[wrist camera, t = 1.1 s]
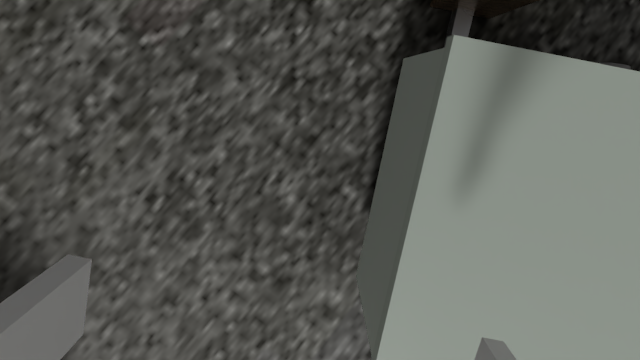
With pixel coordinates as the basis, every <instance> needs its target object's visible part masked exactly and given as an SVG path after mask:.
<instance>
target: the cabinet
mask: <svg viewBox="0 0 640 360" xmlns="http://www.w3.org/2000/svg"><path fill="white" fill-rule="evenodd" d="M630 68H631V66H628V65H624V64H618V63H607V62H603V63H601V64H599V63H594V62H589V61H584V60H579V59H574V58H569V57H564V56H559V55H554V54H548V53H543V52H538V51H533V50H528V49H523V48H518V47H513V46H508V45H503V44H498V43H493V42H488V41H483V40H478V39H473V38H468V37H463V36H458V35H452V36H449V37H447V40H446V44H445V48H441V49H438V50H434V51H430V52H426V53H422V54H419V55H415V56H411V57H407V58H404V59H403V64H402V68H401V73H400V77H399V82H398V87H397V91H396V96H395V100H394V105H393V109H392V114H391V119H390V123H389V128H388V132H387V137H386V141H385V146H384V151H383V155H382V160H381V164H380V169H379V173H378V178H377V183H376V187H375V192H374V196H373V201H372V205H371V210H370V215H369V219H368V224H367V228H366V233H365V238H364V242H363V247H362V251H361V256H360V260H359V265H358V270H357V274H356V278H357V283H358V288H359V294H360V299H361V304H362V309H363V314H364V319H365V324H366V329H367V334H368V339H369V345H370V350H371V355H372V357H371V360H475V357H476V354H477V351H478V348H479V345H480V342H481V339H482V337H484V338H489V339H494V340H499V341H504V343H505V344H506V345H507V347H508V348H509V350H510V351H511V353H512V354H513V355H514V357H515V358H516V360H640V72H639V71H634V70H630Z"/></svg>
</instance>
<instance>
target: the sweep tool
mask: <svg viewBox="0 0 640 360" xmlns="http://www.w3.org/2000/svg"><path fill="white" fill-rule="evenodd" d="M536 1H539V0H431V5H430V7H433V8H438V9H443V10H448V11H452V12H451V16H450V20H449V25H448V29H447V33H446V37H445V42H444V46H443V48H445V44H446V40H447V37H449V36H452V35H458V36H463V37H468V35H469V31H470V27H471V23H472V19H473V16H478V17H483V18H488V19H489V18H492V17H495V16H498V15H500V14H503V13H506V12H509V11H511V10H514V9H517V8H519V7H522V6H525V5H528V4H530V3H533V2H536Z"/></svg>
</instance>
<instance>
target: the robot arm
mask: <svg viewBox="0 0 640 360" xmlns="http://www.w3.org/2000/svg"><path fill="white" fill-rule="evenodd" d="M91 262H92V259H88V258H83V257H78V256H73V255H66V256H65V257H64V258H62V259H61V260H60V261H58V262H57V263H55V264H54V265H53V266H51V267H50V268H48V269H47V270H46V271H44V272H43V273H41V274H40V275H39V276H37V277H36V278H34V279H33V280H32V281H30V282H29V283H27V284H26V285H25V286H23V287H22V288H20V289H19V290H18V291H16V292H15V293H14V294H12V295H11V296H9V297H8V298H7V299H5V300H4V301H2V302H1V303H0V360H60V359H61V358H62V357H63V356H64V355H65V354H66V353H67V352H68V351H69V349H70V348H71V347H72V346H73V345H74V344H75V343H76V342H77V341H78V340H79V338H80V337H81V336H82V335H83V332H84V323H85V314H86V306H87V297H88V288H89V280H90V271H91ZM475 360H516V358H515V357H514V355H513V354H512V353H511V351H510V350H509V348H508V347H507V345H506V344H505V343H504V341H499V340H494V339H489V338H484V337H482V339H481V342H480V345H479V348H478V351H477V354H476V357H475Z"/></svg>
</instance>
